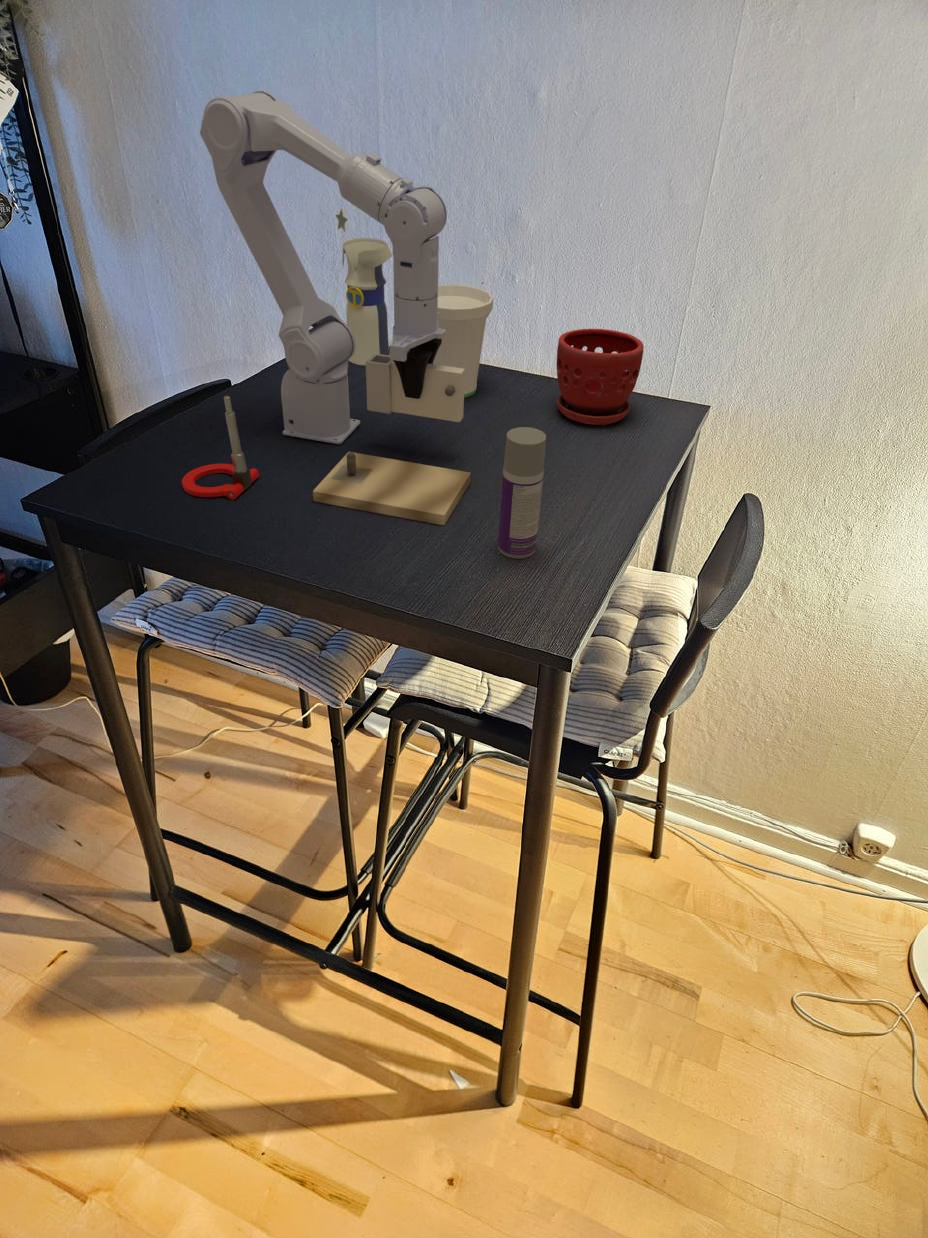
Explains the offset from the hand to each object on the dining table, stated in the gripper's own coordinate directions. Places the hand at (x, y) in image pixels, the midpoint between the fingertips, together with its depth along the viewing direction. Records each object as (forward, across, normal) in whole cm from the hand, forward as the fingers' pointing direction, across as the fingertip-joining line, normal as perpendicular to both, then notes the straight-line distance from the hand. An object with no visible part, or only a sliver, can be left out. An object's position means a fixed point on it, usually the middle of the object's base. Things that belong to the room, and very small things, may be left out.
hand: (415, 393), depth 116 cm
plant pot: (+9, +23, -22) cm, 33 cm away
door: (+3, 0, 0) cm, 3 cm away
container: (+9, -20, -20) cm, 30 cm away
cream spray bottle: (+9, +32, +20) cm, 39 cm away
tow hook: (+9, -18, +22) cm, 30 cm away
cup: (+9, +24, +2) cm, 26 cm away
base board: (+9, -12, -1) cm, 15 cm away
